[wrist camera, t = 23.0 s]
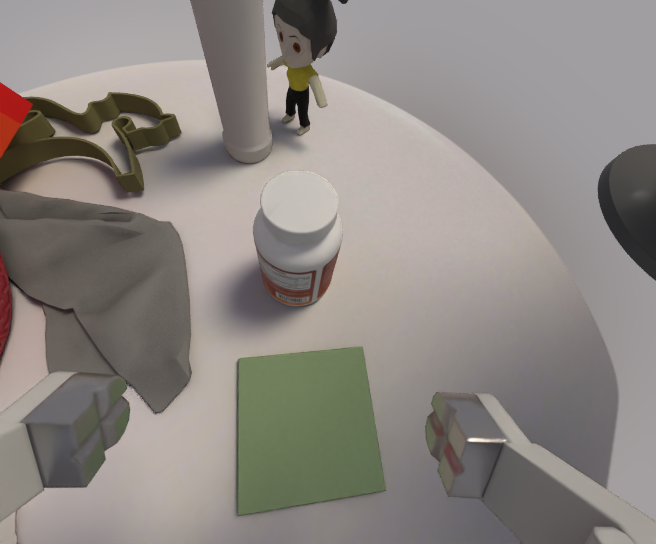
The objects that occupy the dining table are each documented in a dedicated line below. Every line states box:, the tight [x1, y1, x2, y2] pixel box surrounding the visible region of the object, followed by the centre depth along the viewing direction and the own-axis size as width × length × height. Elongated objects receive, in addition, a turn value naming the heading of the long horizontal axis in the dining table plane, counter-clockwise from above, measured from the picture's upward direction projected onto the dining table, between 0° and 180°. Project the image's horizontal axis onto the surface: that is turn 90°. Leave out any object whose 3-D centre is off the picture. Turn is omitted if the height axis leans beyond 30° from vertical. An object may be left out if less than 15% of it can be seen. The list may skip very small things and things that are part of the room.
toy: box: [267, 0, 348, 135], centre depth 30 cm, size 8×5×15 cm, turn 46°
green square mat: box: [238, 347, 386, 516], centre depth 23 cm, size 10×10×1 cm
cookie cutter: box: [0, 92, 181, 193], centre depth 31 cm, size 18×12×2 cm, turn 91°
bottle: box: [190, 0, 272, 163], centre depth 23 cm, size 5×5×25 cm
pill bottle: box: [253, 170, 343, 306], centre depth 23 cm, size 6×6×11 cm
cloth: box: [0, 188, 192, 413], centre depth 25 cm, size 26×14×2 cm, turn 39°
